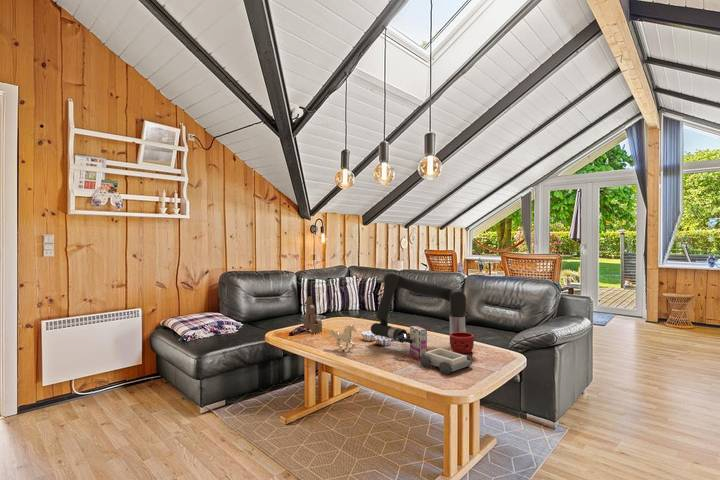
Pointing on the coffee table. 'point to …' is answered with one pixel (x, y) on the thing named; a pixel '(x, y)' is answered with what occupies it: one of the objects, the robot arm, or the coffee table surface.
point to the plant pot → (462, 343)
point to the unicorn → (344, 336)
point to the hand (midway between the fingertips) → (417, 340)
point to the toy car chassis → (445, 360)
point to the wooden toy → (311, 318)
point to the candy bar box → (418, 342)
